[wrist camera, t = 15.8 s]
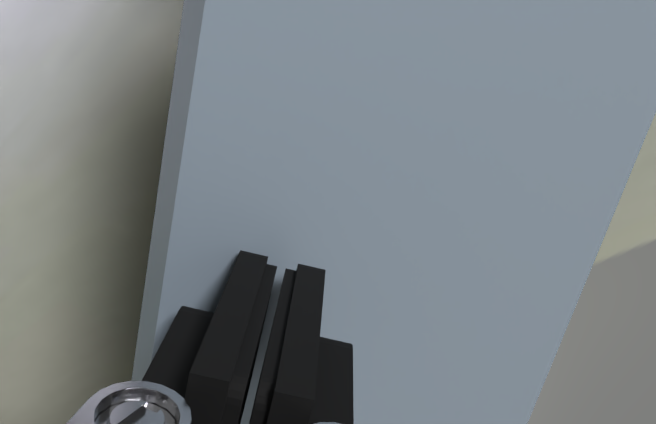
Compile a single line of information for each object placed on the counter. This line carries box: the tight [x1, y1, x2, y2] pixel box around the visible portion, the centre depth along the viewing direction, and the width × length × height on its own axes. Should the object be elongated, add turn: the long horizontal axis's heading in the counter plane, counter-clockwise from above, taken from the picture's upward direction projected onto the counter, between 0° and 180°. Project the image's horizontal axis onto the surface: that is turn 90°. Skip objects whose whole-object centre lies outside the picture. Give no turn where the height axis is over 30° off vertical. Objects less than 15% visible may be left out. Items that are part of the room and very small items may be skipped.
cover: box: [132, 0, 656, 424], centre depth 14 cm, size 31×12×1 cm
